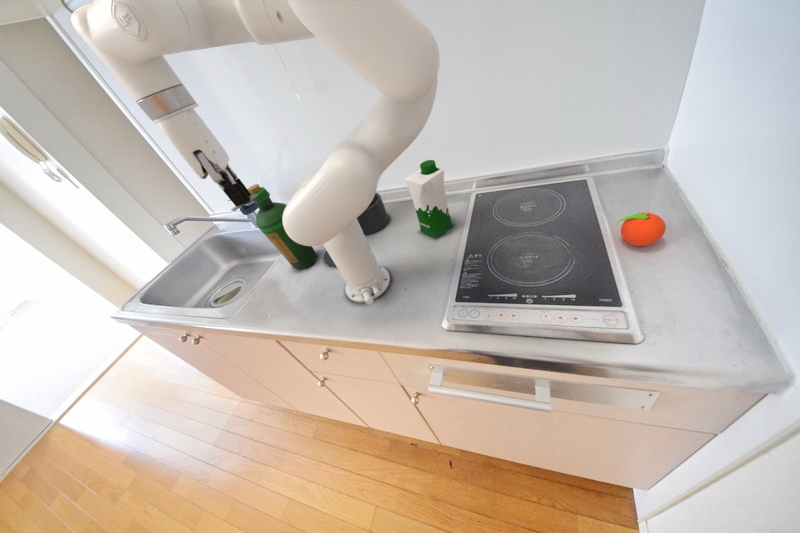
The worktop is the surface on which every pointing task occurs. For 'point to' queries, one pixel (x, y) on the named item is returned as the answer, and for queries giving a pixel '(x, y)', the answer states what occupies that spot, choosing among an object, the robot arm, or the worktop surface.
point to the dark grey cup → (373, 216)
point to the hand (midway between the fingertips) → (243, 200)
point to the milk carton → (430, 199)
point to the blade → (247, 206)
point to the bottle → (279, 229)
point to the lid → (328, 259)
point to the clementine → (642, 229)
